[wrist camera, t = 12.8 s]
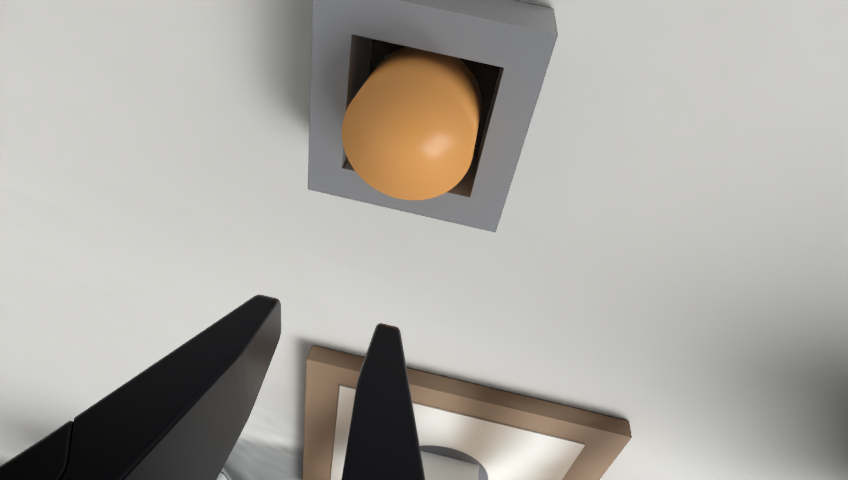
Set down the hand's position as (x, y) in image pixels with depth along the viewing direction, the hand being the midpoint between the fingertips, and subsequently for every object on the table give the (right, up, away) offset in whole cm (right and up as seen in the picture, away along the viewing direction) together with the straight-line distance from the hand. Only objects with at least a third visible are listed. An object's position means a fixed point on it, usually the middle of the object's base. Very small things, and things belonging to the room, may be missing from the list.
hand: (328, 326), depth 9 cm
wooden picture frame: (+3, -13, +24) cm, 27 cm away
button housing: (+2, +7, +9) cm, 12 cm away
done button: (+2, +6, +8) cm, 10 cm away
